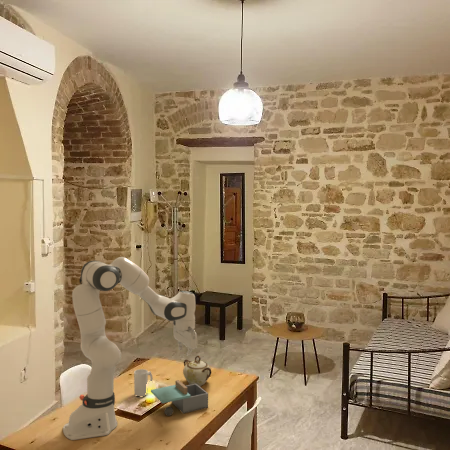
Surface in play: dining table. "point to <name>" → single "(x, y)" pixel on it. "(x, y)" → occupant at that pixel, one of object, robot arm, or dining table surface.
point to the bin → (193, 400)
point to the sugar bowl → (196, 371)
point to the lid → (171, 392)
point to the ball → (168, 411)
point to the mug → (141, 381)
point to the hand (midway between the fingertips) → (184, 352)
